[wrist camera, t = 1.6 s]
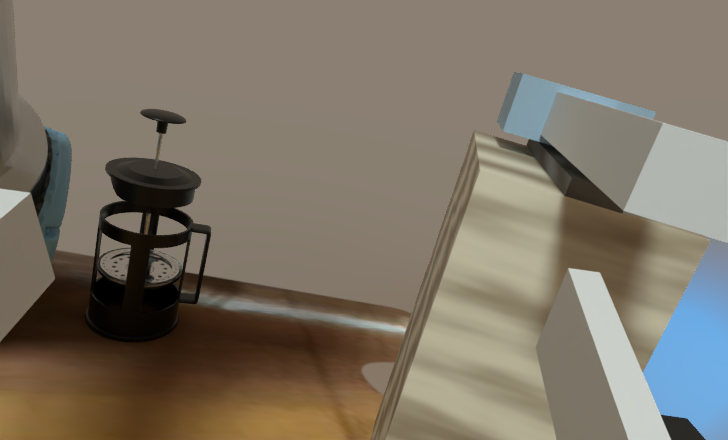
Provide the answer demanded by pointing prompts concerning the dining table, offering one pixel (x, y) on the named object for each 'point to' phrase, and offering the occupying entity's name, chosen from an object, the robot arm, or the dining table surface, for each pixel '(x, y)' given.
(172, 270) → the french press
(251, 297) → the dining table surface
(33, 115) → the robot arm
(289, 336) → the dining table surface
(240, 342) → the dining table surface
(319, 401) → the dining table surface
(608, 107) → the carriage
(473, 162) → the patterned tall box
